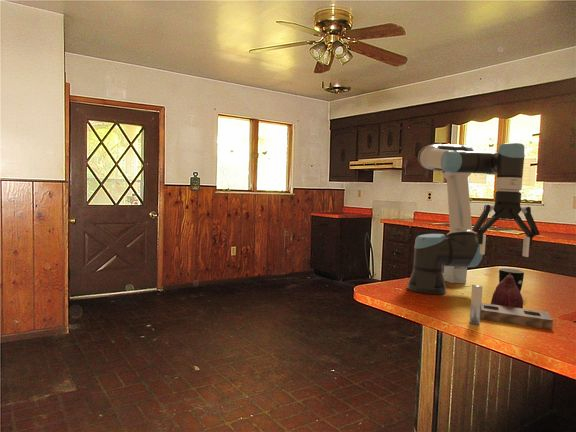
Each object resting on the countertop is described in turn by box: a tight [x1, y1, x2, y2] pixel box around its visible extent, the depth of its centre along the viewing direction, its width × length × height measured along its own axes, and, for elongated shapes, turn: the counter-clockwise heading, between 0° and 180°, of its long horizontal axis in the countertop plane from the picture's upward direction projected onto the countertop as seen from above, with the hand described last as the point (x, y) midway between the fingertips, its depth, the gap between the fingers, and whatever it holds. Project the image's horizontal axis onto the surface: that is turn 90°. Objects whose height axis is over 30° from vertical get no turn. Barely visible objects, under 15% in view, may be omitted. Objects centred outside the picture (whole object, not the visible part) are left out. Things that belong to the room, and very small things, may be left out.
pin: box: [469, 284, 484, 326], centre depth 132 cm, size 3×3×12 cm
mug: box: [498, 267, 525, 292], centre depth 174 cm, size 12×9×10 cm
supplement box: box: [443, 266, 468, 284], centre depth 193 cm, size 7×7×13 cm
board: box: [480, 302, 554, 331], centre depth 138 cm, size 22×10×3 cm, turn 67°
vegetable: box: [490, 273, 524, 309], centre depth 149 cm, size 10×10×15 cm
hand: (503, 255), depth 139 cm, fingers open, 13 cm apart
